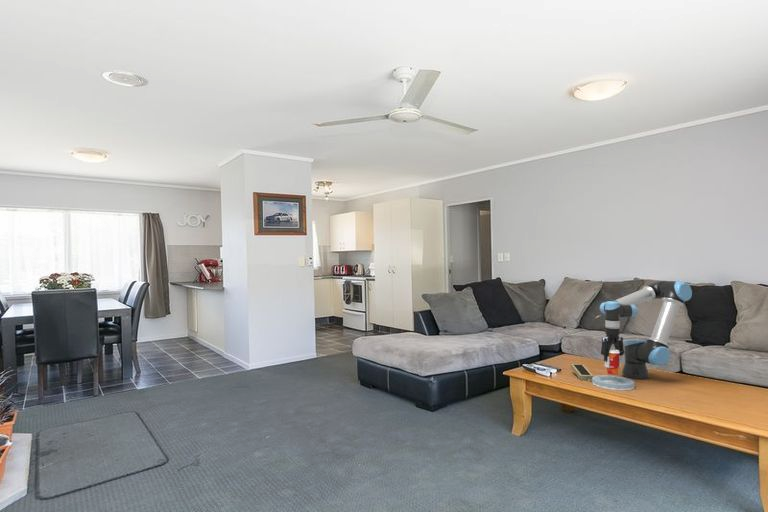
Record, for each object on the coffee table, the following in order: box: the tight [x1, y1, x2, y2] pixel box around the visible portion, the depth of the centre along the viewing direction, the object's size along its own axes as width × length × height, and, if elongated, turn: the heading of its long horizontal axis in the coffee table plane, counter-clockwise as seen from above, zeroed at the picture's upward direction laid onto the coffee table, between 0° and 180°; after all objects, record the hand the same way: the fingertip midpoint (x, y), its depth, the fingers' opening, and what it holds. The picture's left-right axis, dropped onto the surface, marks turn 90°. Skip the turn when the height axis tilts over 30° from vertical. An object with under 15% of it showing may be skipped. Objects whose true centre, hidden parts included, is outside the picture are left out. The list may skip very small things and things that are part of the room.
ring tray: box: [591, 374, 636, 391], centre depth 257 cm, size 22×22×3 cm
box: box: [570, 363, 595, 383], centre depth 275 cm, size 8×22×5 cm, turn 176°
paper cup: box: [606, 348, 620, 376], centre depth 257 cm, size 8×8×14 cm
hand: (612, 366), depth 257 cm, fingers closed on paper cup, 8 cm apart
